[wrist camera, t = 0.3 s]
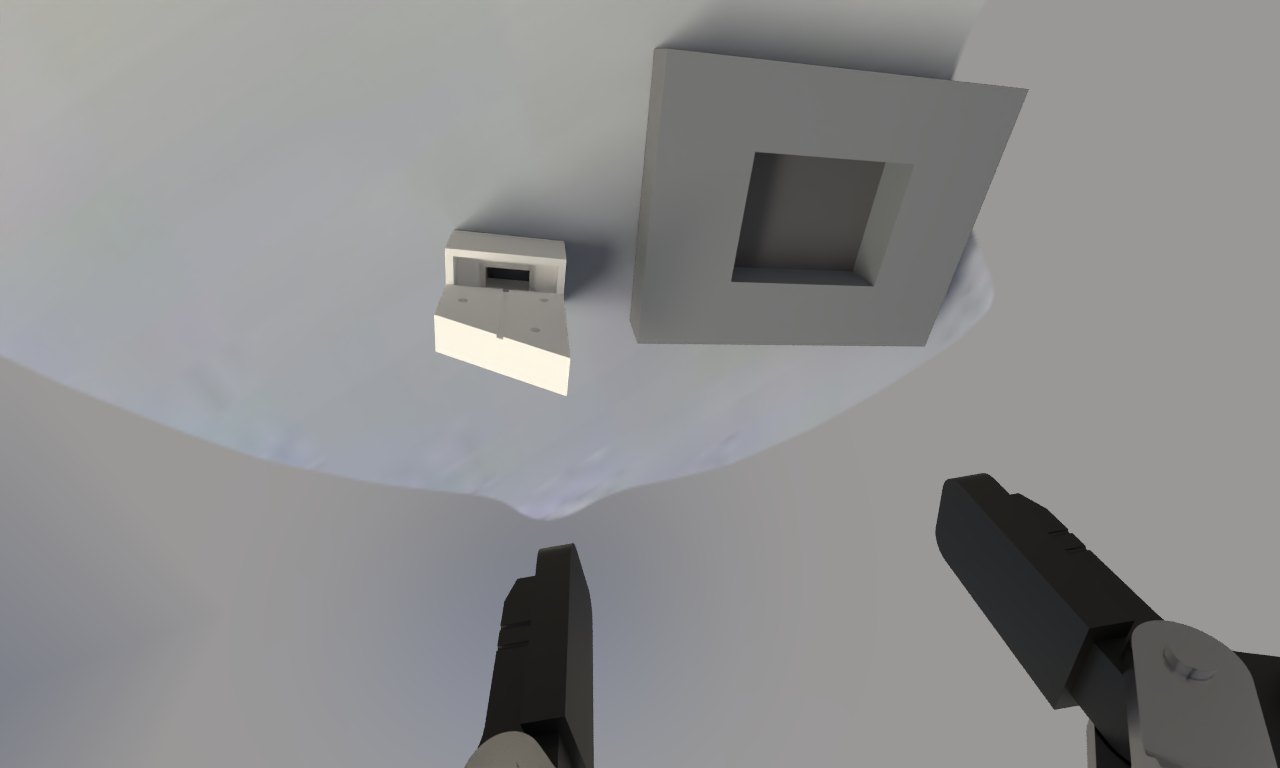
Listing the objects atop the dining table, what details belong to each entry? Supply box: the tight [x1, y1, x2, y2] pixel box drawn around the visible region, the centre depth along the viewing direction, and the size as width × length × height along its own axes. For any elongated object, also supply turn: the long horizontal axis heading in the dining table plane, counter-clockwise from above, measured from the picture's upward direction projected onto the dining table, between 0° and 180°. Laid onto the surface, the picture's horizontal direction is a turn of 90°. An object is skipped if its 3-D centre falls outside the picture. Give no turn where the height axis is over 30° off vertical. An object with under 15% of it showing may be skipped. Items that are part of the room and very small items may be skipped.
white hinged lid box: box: [434, 230, 570, 396], centre depth 27 cm, size 4×10×9 cm, turn 81°
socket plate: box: [630, 49, 1028, 346], centre depth 29 cm, size 14×18×3 cm
